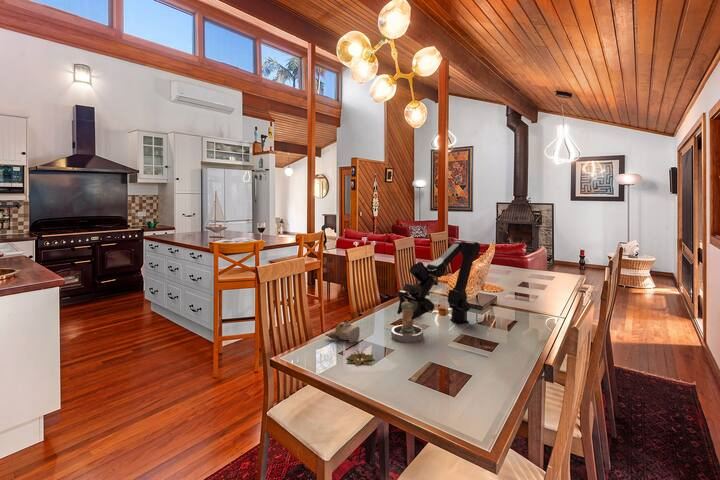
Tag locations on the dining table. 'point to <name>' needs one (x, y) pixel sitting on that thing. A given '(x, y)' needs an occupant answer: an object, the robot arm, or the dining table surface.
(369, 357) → the lily flower
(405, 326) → the disc
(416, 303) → the cup
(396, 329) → the round tray
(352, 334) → the ceramic sculpture
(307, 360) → the dining table surface
